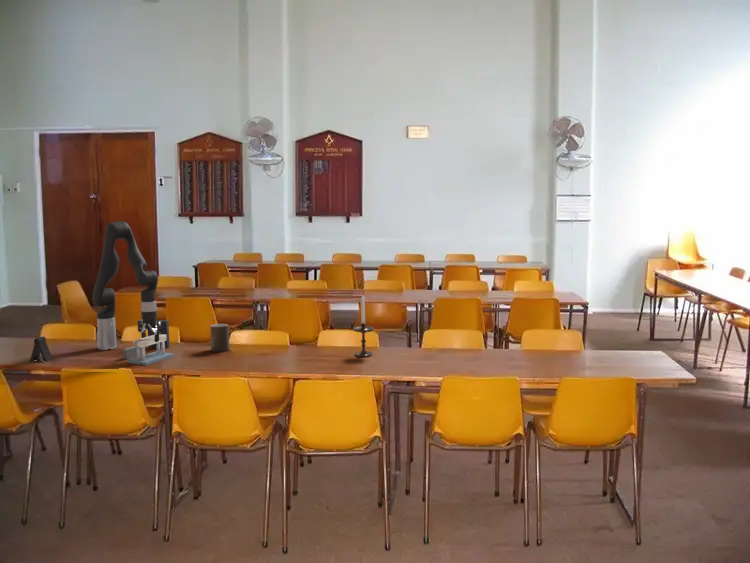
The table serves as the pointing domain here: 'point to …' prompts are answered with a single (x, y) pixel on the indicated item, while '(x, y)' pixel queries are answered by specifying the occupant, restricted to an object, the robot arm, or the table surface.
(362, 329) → the candlestick
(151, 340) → the shelf board
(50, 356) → the phone stand
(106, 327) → the robot arm
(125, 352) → the block
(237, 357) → the table surface
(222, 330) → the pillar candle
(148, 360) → the peg stand
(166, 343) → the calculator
